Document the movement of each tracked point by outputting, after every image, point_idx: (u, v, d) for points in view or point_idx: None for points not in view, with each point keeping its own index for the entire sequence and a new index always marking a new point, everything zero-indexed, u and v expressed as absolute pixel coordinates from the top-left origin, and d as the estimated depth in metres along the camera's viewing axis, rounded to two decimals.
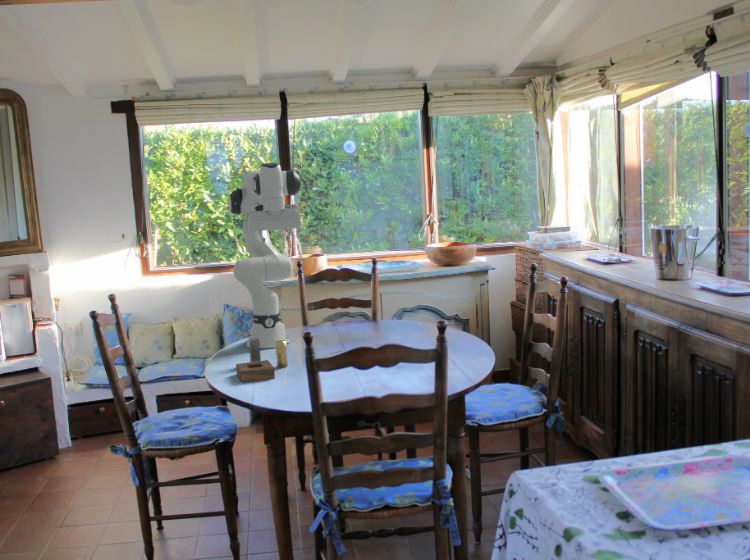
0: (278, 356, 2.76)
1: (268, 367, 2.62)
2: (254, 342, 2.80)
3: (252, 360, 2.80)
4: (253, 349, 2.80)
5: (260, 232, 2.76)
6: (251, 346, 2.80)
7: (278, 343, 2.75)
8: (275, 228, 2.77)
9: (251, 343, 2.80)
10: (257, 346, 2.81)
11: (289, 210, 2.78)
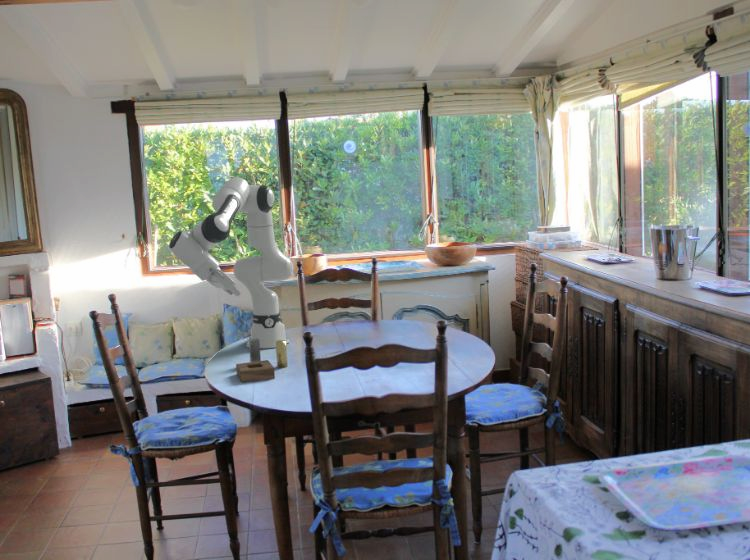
0: (278, 356, 2.76)
1: (268, 367, 2.62)
2: (254, 342, 2.80)
3: (252, 360, 2.80)
4: (253, 349, 2.80)
5: None
6: (251, 346, 2.80)
7: (278, 343, 2.75)
8: (221, 288, 2.61)
9: (251, 343, 2.79)
10: (257, 346, 2.81)
11: (212, 276, 2.54)
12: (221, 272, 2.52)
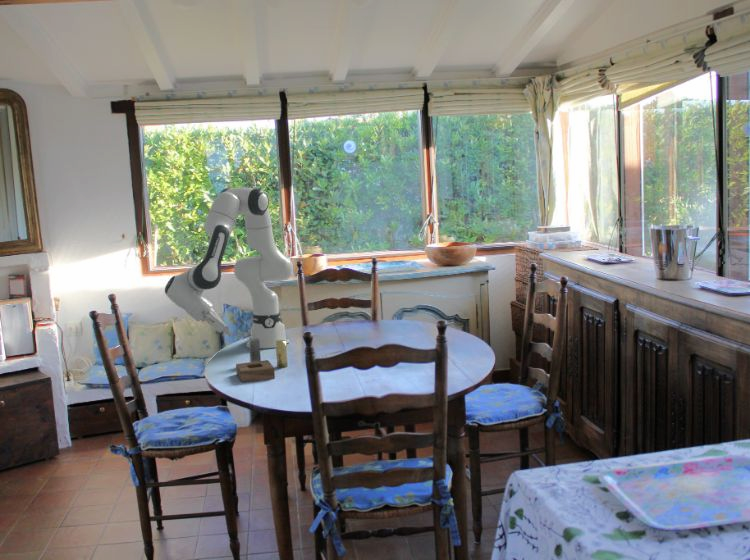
0: (278, 356, 2.76)
1: (268, 367, 2.62)
2: (254, 342, 2.80)
3: (252, 360, 2.80)
4: (253, 349, 2.80)
5: None
6: (251, 346, 2.80)
7: (278, 343, 2.75)
8: None
9: (251, 343, 2.80)
10: (257, 346, 2.81)
11: (204, 319, 2.68)
12: (212, 316, 2.66)
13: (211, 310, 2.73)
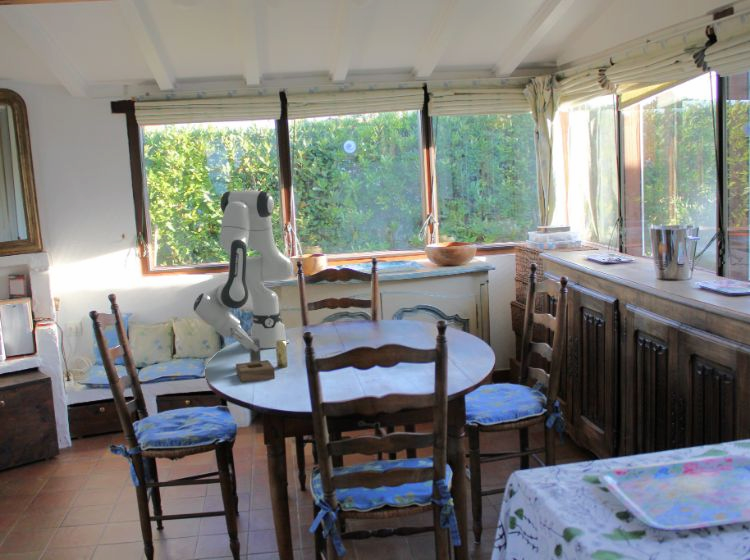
0: (278, 356, 2.76)
1: (268, 367, 2.62)
2: (254, 342, 2.80)
3: (252, 360, 2.80)
4: None
5: None
6: None
7: (278, 343, 2.75)
8: None
9: None
10: (257, 346, 2.81)
11: (232, 336, 2.73)
12: (240, 333, 2.70)
13: (239, 327, 2.77)
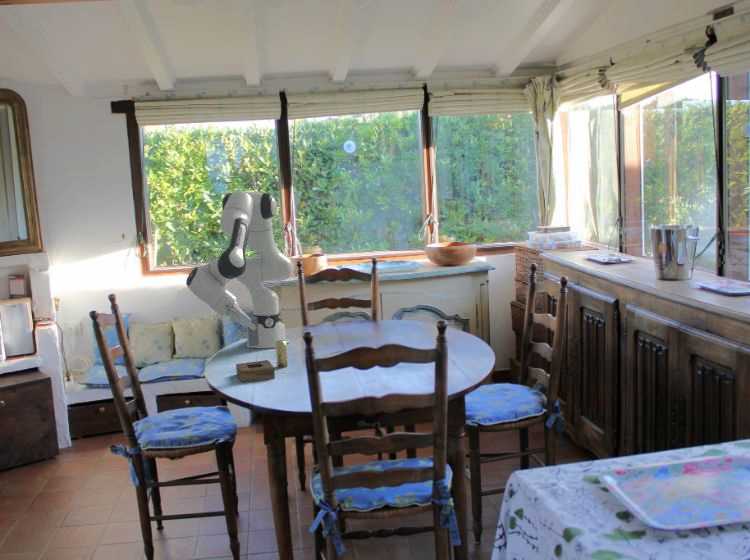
0: (278, 356, 2.76)
1: (268, 367, 2.62)
2: (252, 321, 2.61)
3: (249, 340, 2.62)
4: (250, 328, 2.61)
5: None
6: None
7: (278, 343, 2.75)
8: None
9: None
10: (255, 325, 2.62)
11: (229, 313, 2.54)
12: (236, 310, 2.52)
13: (235, 304, 2.58)
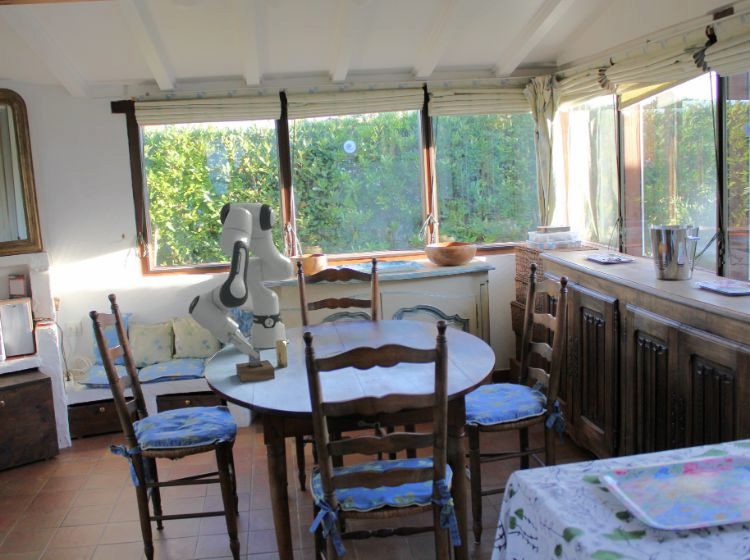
0: (278, 356, 2.76)
1: (268, 367, 2.62)
2: None
3: None
4: (253, 360, 2.63)
5: None
6: (251, 357, 2.63)
7: (278, 343, 2.75)
8: None
9: None
10: None
11: (231, 341, 2.56)
12: (238, 338, 2.53)
13: (237, 331, 2.60)
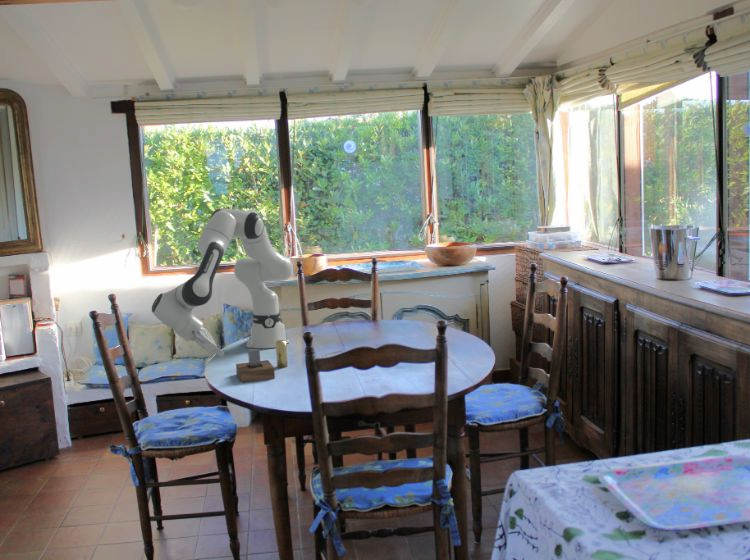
0: (278, 356, 2.76)
1: (268, 367, 2.62)
2: (254, 353, 2.63)
3: None
4: (253, 360, 2.63)
5: None
6: (251, 357, 2.63)
7: (278, 343, 2.75)
8: None
9: (251, 354, 2.63)
10: (257, 357, 2.64)
11: (194, 339, 2.53)
12: (202, 336, 2.50)
13: (201, 329, 2.57)
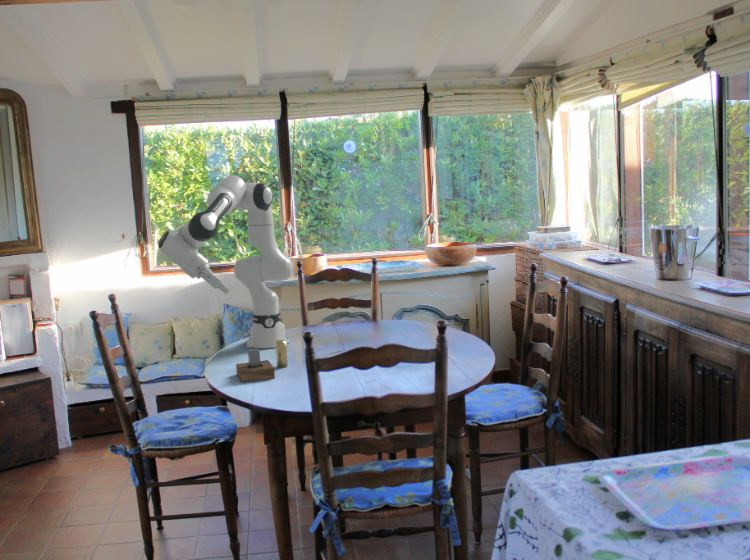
0: (278, 356, 2.76)
1: (268, 367, 2.62)
2: (254, 353, 2.63)
3: None
4: (253, 360, 2.63)
5: None
6: (251, 357, 2.63)
7: (278, 343, 2.75)
8: None
9: (251, 354, 2.63)
10: (257, 357, 2.64)
11: (200, 275, 2.59)
12: (207, 271, 2.56)
13: (207, 266, 2.63)
